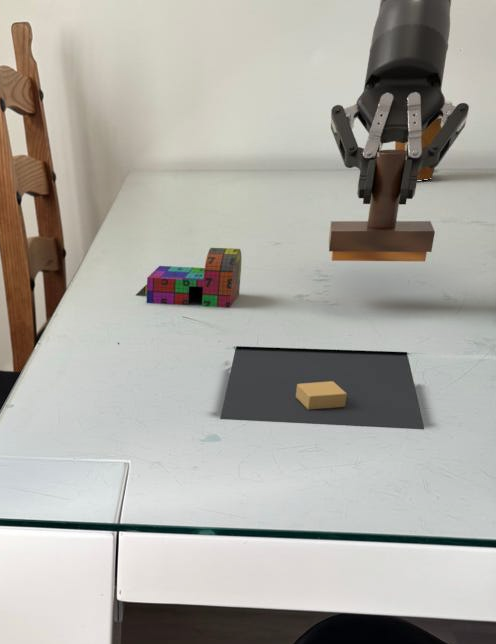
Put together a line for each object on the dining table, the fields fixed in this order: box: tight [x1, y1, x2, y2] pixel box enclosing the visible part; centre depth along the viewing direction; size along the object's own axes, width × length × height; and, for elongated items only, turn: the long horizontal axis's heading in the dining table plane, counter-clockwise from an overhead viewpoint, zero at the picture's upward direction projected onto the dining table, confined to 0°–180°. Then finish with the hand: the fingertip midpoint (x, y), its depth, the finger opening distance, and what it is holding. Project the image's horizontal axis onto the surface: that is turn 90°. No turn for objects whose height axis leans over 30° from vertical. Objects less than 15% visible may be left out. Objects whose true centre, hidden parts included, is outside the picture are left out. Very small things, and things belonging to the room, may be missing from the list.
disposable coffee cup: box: [394, 99, 453, 180], centre depth 173 cm, size 10×10×12 cm
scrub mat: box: [219, 345, 425, 430], centre depth 90 cm, size 16×21×1 cm
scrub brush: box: [328, 149, 436, 262], centre depth 102 cm, size 10×5×10 cm, turn 76°
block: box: [135, 247, 242, 309], centre depth 113 cm, size 12×8×7 cm
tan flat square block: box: [296, 381, 347, 410], centre depth 85 cm, size 3×3×1 cm
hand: (385, 198), depth 100 cm, fingers closed on scrub brush, 3 cm apart
